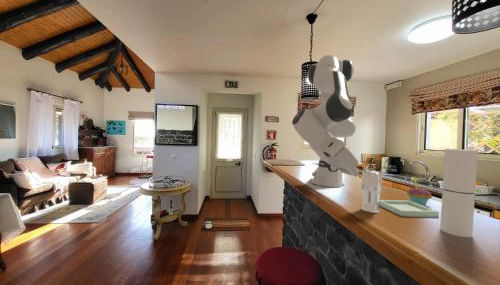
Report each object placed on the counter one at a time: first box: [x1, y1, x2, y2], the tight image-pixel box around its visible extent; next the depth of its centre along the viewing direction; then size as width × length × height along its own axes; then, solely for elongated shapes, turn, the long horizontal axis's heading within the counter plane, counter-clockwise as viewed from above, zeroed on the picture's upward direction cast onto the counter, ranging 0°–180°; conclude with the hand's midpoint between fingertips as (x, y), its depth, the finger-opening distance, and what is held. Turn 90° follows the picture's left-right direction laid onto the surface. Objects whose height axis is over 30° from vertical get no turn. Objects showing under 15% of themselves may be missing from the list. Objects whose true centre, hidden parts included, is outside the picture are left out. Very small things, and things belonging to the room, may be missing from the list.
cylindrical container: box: [439, 148, 479, 238], centre depth 67 cm, size 7×7×25 cm
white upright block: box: [360, 169, 383, 214], centre depth 85 cm, size 7×7×15 cm
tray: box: [378, 199, 440, 218], centre depth 87 cm, size 14×14×2 cm
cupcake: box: [406, 177, 433, 207], centre depth 97 cm, size 9×8×12 cm
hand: (350, 173), depth 84 cm, fingers open, 8 cm apart
